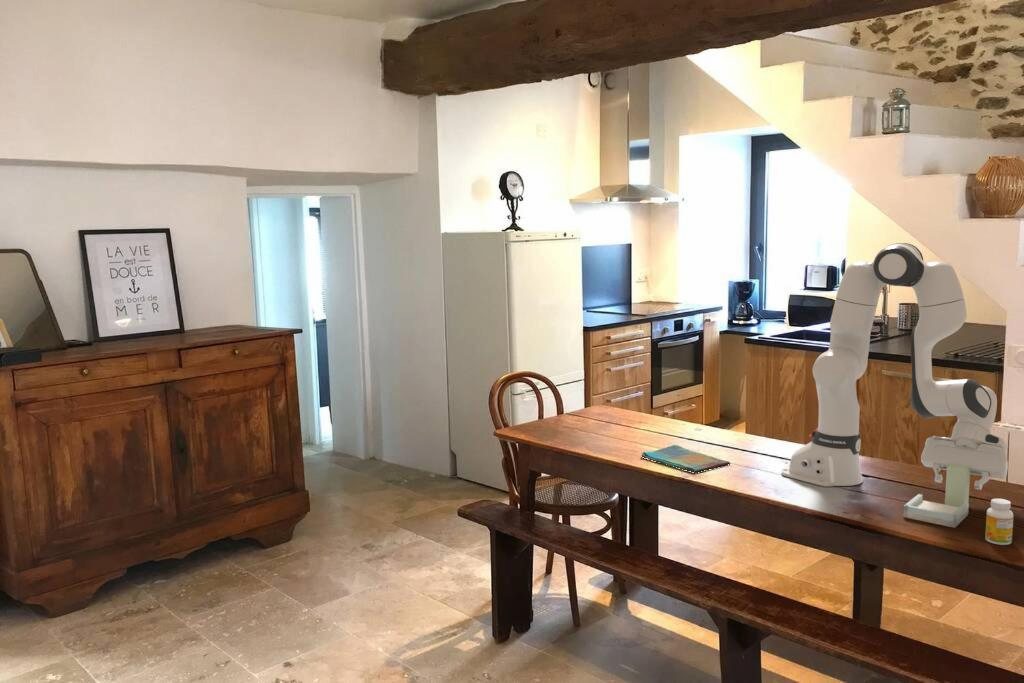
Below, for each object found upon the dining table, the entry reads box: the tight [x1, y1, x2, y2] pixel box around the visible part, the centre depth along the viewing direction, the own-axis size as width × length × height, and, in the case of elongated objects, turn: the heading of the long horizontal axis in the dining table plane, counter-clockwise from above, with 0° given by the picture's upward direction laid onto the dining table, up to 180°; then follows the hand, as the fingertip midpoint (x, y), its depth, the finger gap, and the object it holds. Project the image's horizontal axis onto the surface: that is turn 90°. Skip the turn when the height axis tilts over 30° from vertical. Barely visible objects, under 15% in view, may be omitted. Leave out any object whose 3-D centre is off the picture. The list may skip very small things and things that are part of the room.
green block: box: [944, 463, 971, 507], centre depth 217 cm, size 4×4×11 cm
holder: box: [902, 493, 970, 529], centre depth 211 cm, size 12×12×3 cm
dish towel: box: [641, 444, 731, 474], centre depth 264 cm, size 17×23×2 cm
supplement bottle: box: [984, 498, 1014, 546], centre depth 193 cm, size 5×5×10 cm
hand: (957, 484), depth 216 cm, fingers open, 8 cm apart
